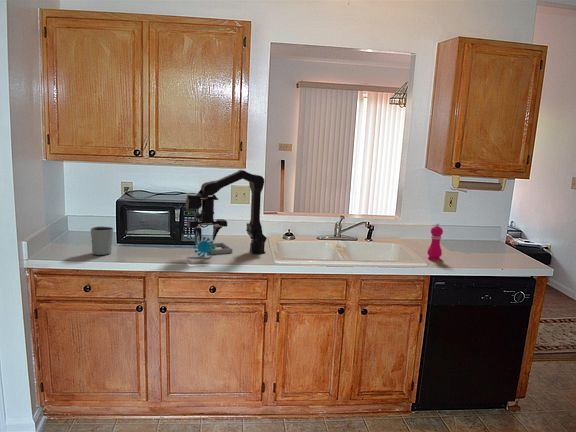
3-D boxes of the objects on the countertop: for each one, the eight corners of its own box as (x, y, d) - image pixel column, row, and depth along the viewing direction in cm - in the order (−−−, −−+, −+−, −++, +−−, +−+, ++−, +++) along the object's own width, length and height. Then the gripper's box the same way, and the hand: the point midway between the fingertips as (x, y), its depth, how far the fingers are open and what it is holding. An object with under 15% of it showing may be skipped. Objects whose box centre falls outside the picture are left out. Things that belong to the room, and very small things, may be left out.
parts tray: (223, 247, 258) (223, 242, 257) (232, 253, 245) (232, 248, 245) (203, 248, 253) (203, 243, 253) (212, 254, 240) (212, 249, 240)
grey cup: (86, 252, 231) (86, 228, 229) (102, 249, 240) (102, 225, 238) (101, 256, 227) (101, 231, 225) (118, 252, 236) (117, 228, 234)
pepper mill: (431, 263, 248) (435, 224, 244) (423, 259, 254) (427, 222, 251) (443, 262, 250) (447, 224, 247) (435, 259, 256) (439, 222, 253)
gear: (192, 256, 233) (193, 236, 237) (195, 259, 239) (196, 240, 243) (215, 255, 233) (216, 236, 237) (217, 259, 238) (218, 240, 242)
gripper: (220, 206, 244) (219, 236, 246) (184, 206, 235) (183, 238, 238) (228, 209, 234) (227, 241, 236) (190, 210, 226) (189, 243, 228)
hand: (206, 240), depth 235 cm, fingers open, 6 cm apart
